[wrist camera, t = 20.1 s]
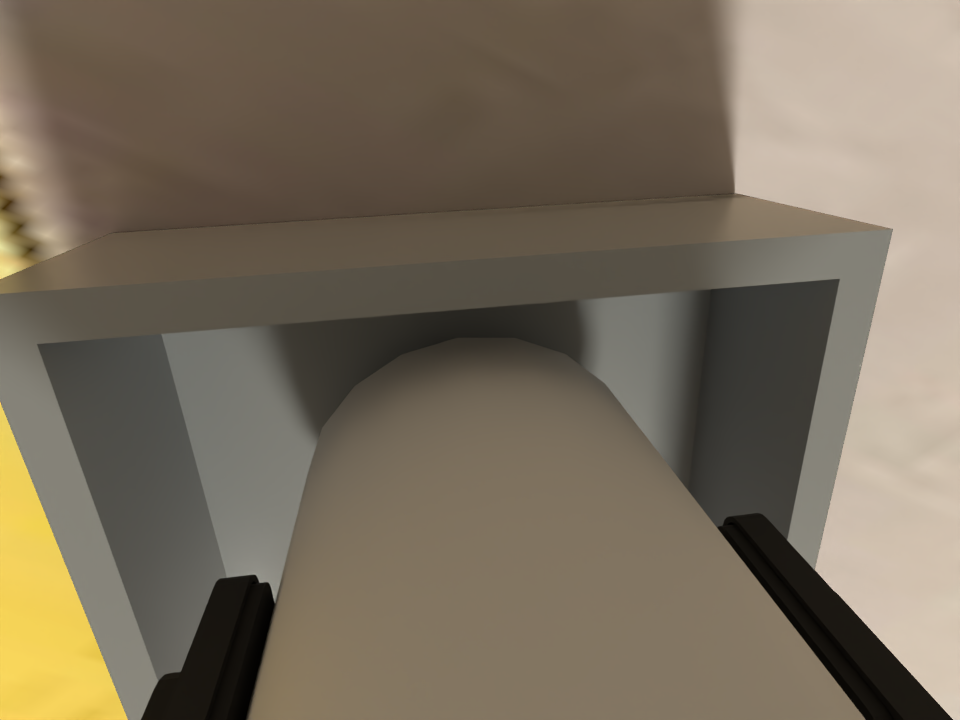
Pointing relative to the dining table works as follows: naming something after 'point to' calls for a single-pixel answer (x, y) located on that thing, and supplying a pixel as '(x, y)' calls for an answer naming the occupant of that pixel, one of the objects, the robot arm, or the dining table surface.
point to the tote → (385, 336)
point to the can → (516, 563)
